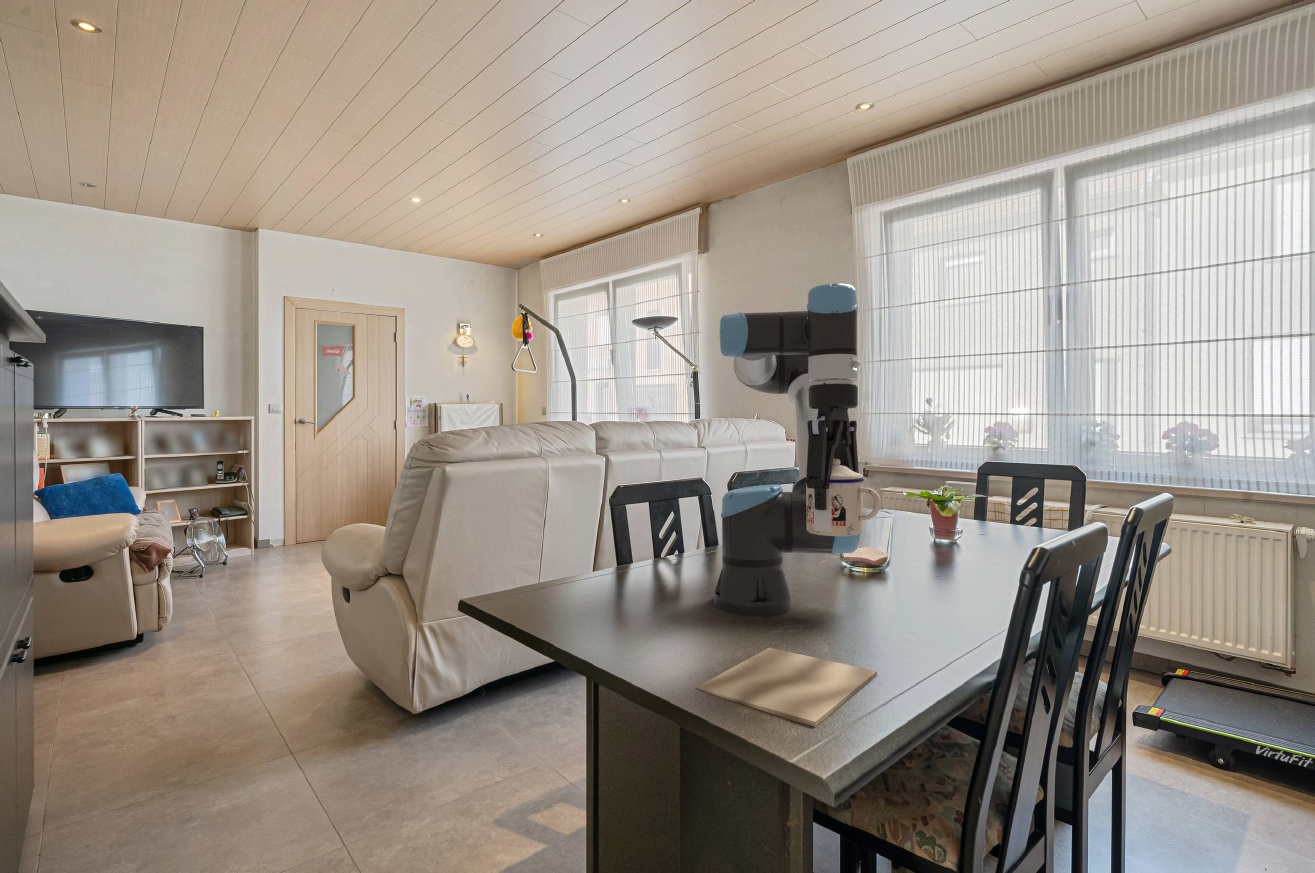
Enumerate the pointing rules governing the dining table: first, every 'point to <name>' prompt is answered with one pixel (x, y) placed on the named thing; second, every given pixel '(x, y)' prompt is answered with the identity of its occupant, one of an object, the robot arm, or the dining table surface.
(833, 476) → the teacup with lid
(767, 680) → the cork mat
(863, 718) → the dining table surface
